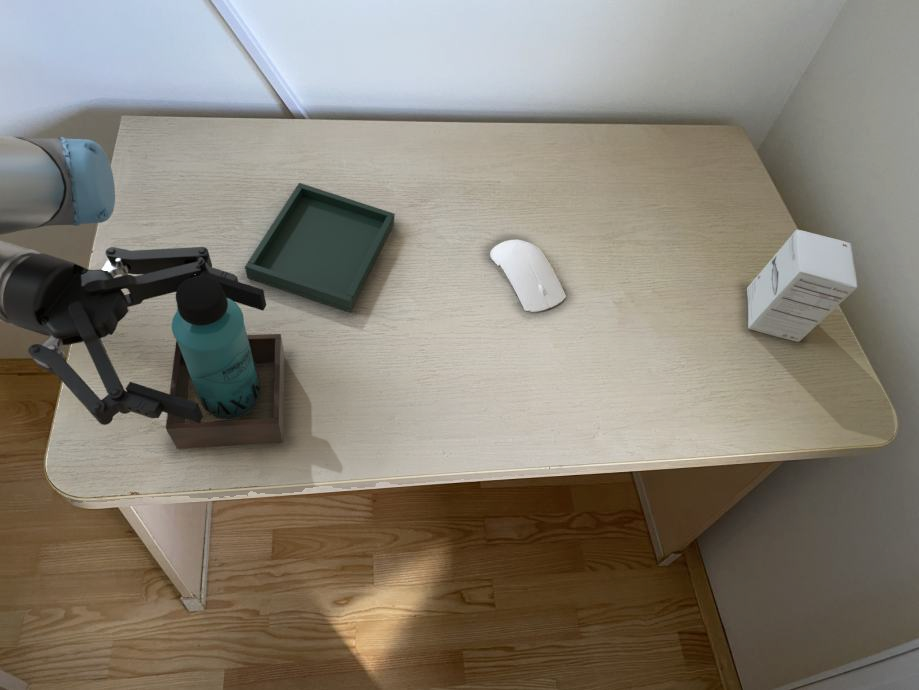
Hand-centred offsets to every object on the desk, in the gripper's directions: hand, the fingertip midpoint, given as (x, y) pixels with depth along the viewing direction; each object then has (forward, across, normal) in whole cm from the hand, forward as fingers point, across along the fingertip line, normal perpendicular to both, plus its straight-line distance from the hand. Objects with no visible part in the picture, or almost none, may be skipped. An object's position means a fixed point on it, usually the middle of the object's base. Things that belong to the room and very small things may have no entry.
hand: (233, 353), depth 64 cm
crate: (-2, 0, -11) cm, 11 cm away
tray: (-1, -24, -11) cm, 26 cm away
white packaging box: (+59, -36, -11) cm, 70 cm away
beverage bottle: (-2, 0, -11) cm, 11 cm away
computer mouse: (+26, -30, -11) cm, 41 cm away
